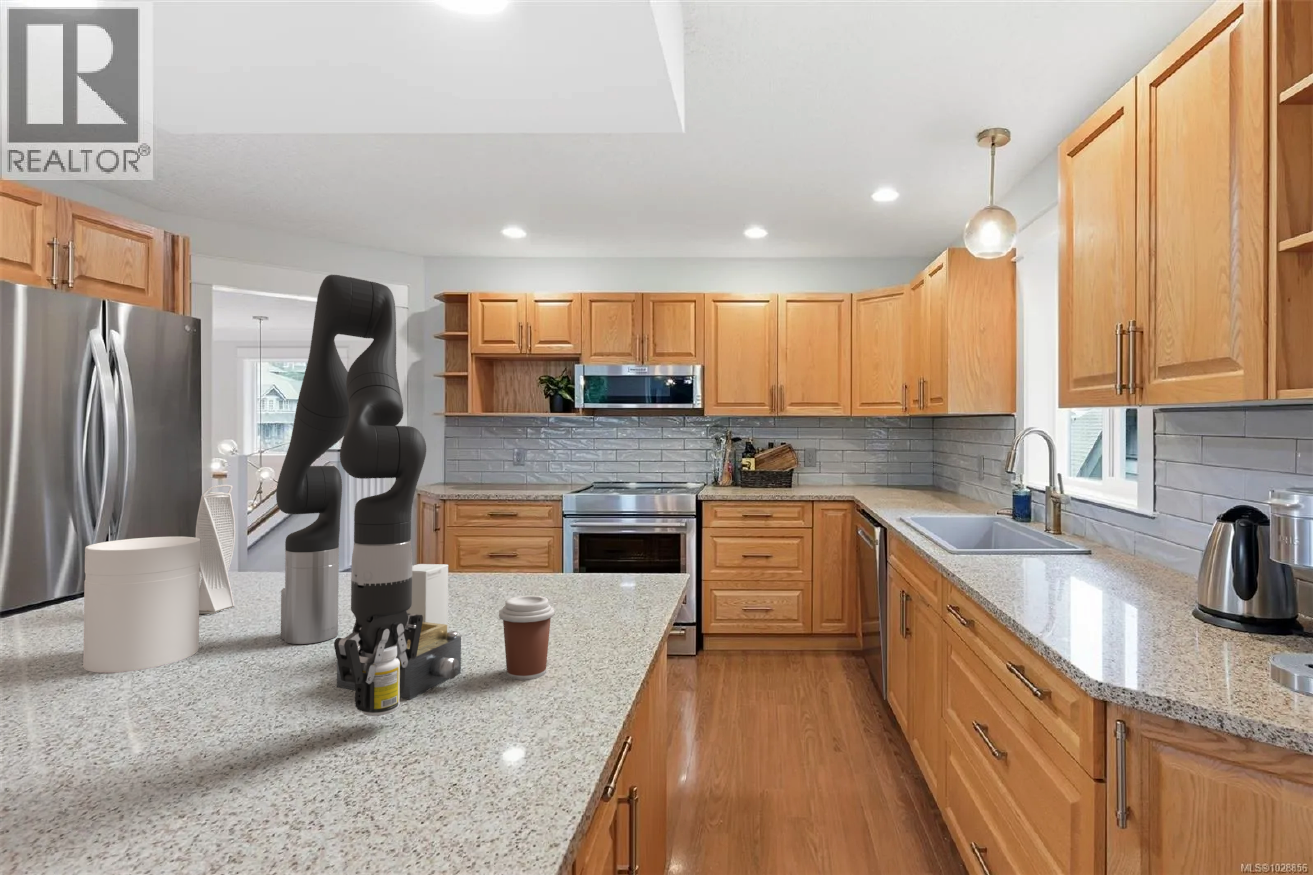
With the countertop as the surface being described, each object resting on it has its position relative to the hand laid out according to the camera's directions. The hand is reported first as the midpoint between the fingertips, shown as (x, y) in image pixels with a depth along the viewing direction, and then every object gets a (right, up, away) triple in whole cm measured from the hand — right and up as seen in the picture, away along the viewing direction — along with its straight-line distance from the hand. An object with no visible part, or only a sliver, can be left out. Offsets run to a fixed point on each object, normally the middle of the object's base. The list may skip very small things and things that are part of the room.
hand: (380, 701), depth 87 cm
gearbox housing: (-3, -3, +17) cm, 17 cm away
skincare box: (-6, -4, +31) cm, 31 cm away
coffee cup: (+15, -4, +21) cm, 26 cm away
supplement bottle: (0, -1, 0) cm, 1 cm away
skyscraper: (-63, -4, +60) cm, 87 cm away
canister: (-53, -3, +28) cm, 60 cm away
